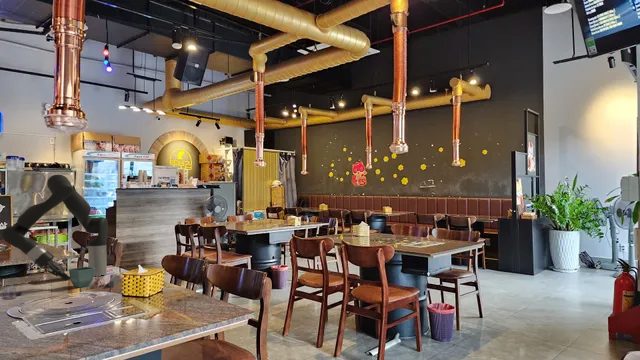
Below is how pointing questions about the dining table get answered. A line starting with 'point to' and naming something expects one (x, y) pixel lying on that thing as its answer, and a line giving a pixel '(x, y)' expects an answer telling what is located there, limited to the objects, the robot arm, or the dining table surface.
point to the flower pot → (81, 276)
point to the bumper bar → (114, 281)
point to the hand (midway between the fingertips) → (67, 279)
